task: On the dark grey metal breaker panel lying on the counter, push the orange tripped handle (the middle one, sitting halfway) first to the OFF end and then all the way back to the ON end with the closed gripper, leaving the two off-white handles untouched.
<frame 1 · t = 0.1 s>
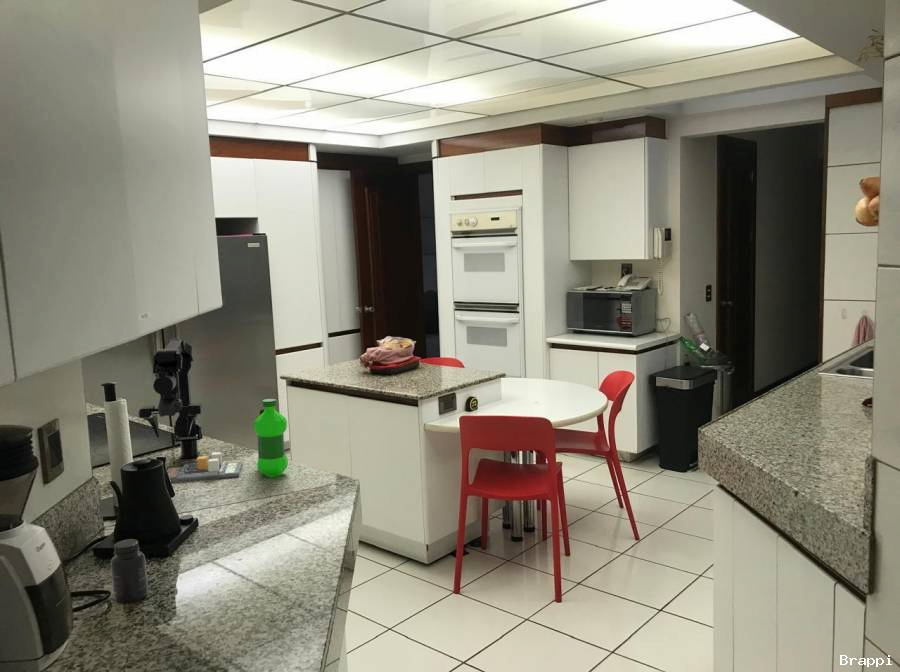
hand: (173, 436, 233), 15 cm above the countertop, fingers open, 9 cm apart
beverage bottle: (268, 467, 247), on the countertop
breaker tripped: (202, 463, 240), point 4 cm above the countertop, slide at 0.0 cm
supplement bottle: (131, 597, 155), on the countertop
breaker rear: (216, 459, 245), point 4 cm above the countertop, slide at 4.0 cm
plastic bottle: (273, 475, 238), on the countertop
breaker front: (213, 466, 237), point 4 cm above the countertop, slide at 4.0 cm
panel: (203, 474, 241), on the countertop
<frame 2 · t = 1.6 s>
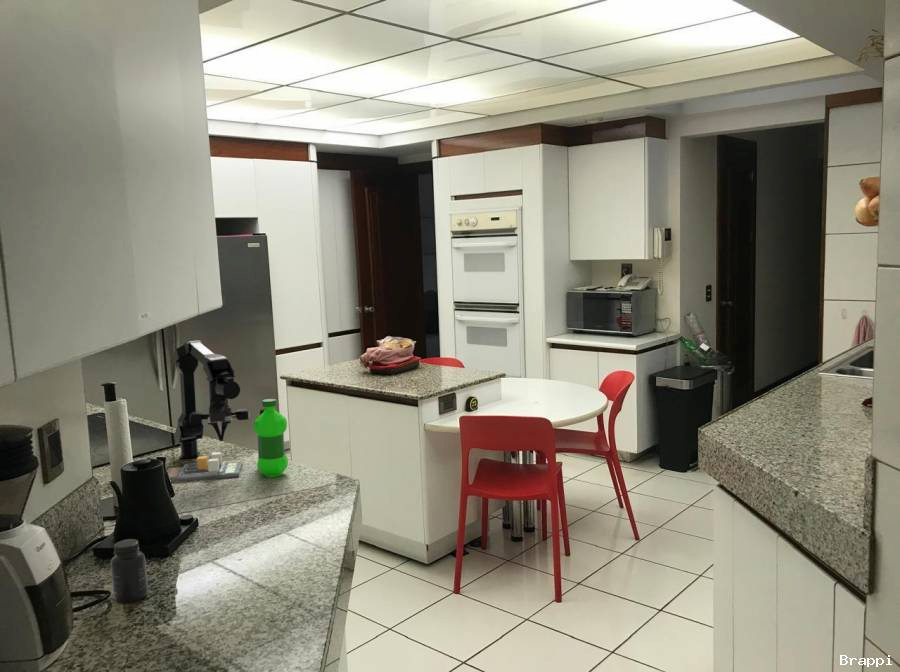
hand: (221, 441, 240), 11 cm above the countertop, fingers closed
nothing on the countertop moved.
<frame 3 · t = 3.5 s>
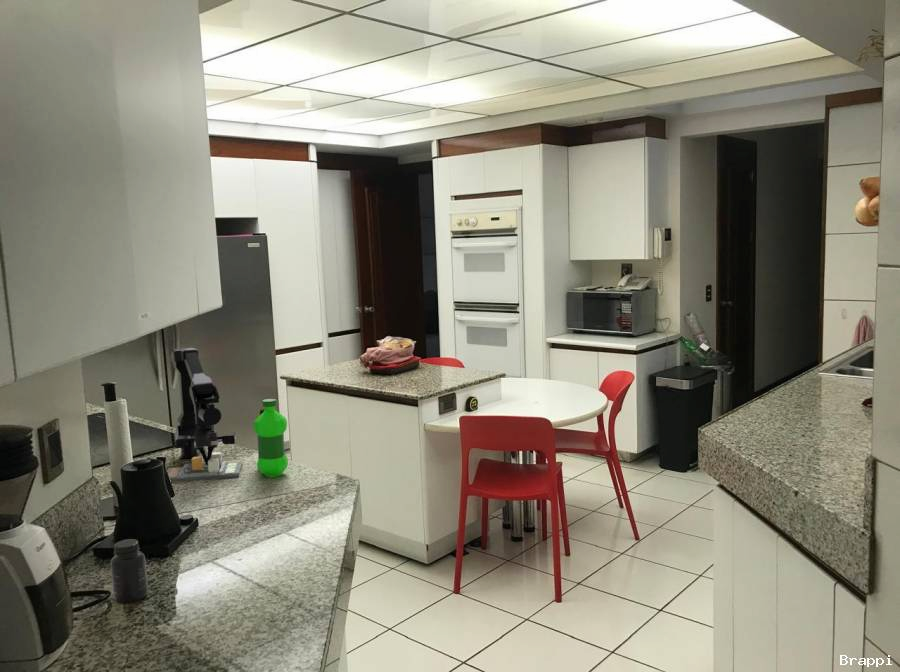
hand: (207, 465, 241), 3 cm above the countertop, fingers closed
breaker tripped: (197, 464, 240), point 4 cm above the countertop, slide at -1.7 cm, touching gripper
everything else where it was.
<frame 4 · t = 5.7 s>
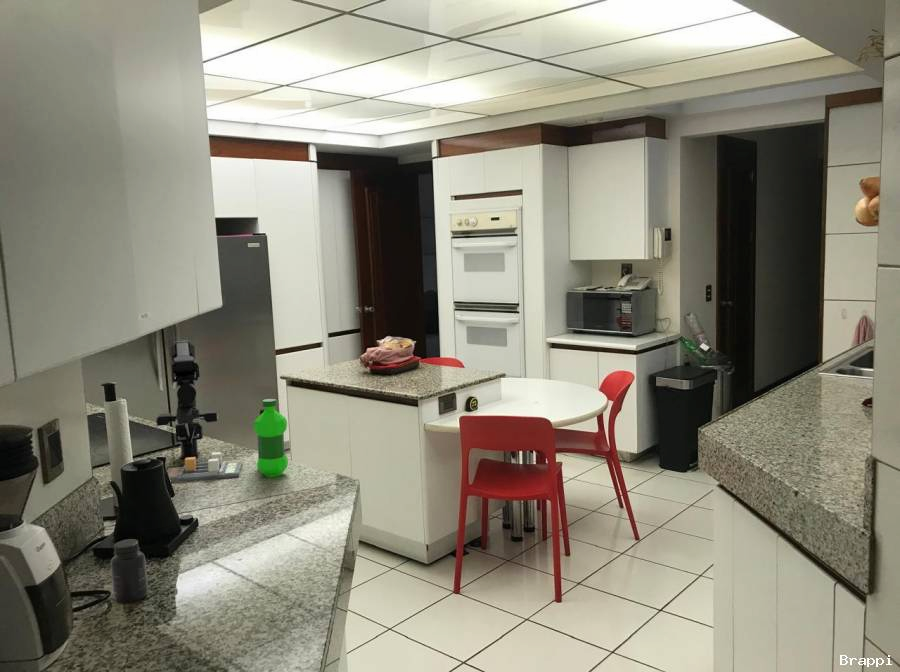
hand: (189, 443, 239), 11 cm above the countertop, fingers closed
breaker tripped: (190, 464, 239), point 4 cm above the countertop, slide at -3.9 cm
everything else where it was.
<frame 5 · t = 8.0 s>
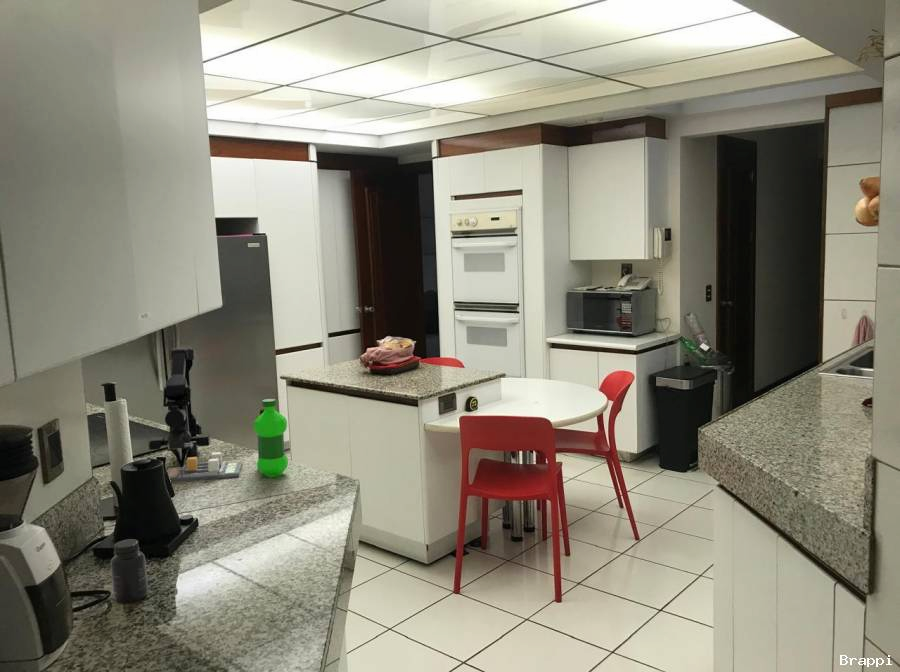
hand: (182, 467, 239), 3 cm above the countertop, fingers closed
breaker tripped: (192, 464, 239), point 4 cm above the countertop, slide at -3.3 cm, touching gripper
everything else where it was.
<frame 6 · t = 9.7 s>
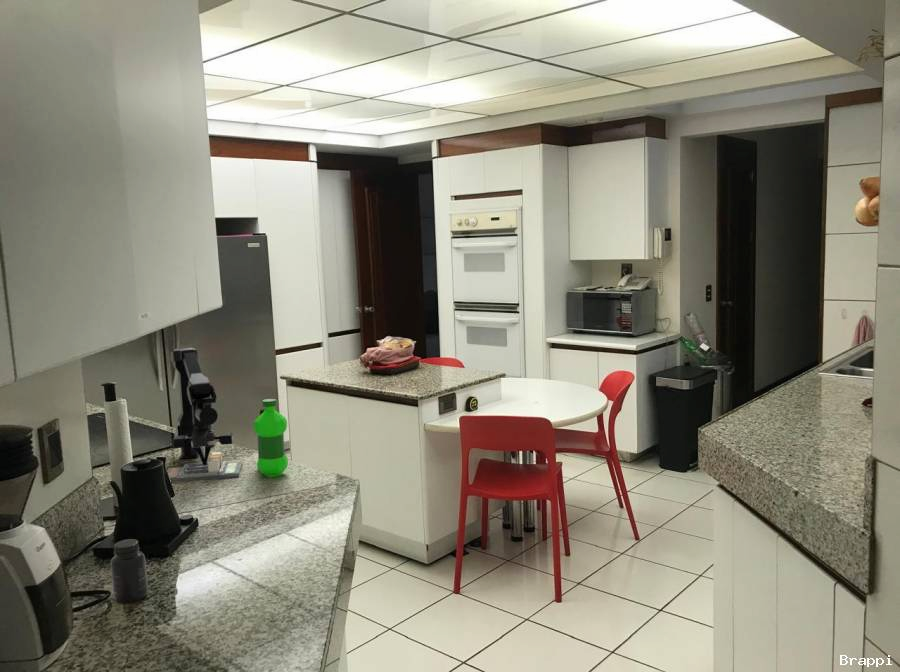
hand: (205, 465, 240), 3 cm above the countertop, fingers closed
breaker tripped: (214, 462, 241), point 4 cm above the countertop, slide at 3.9 cm, touching gripper
everything else where it was.
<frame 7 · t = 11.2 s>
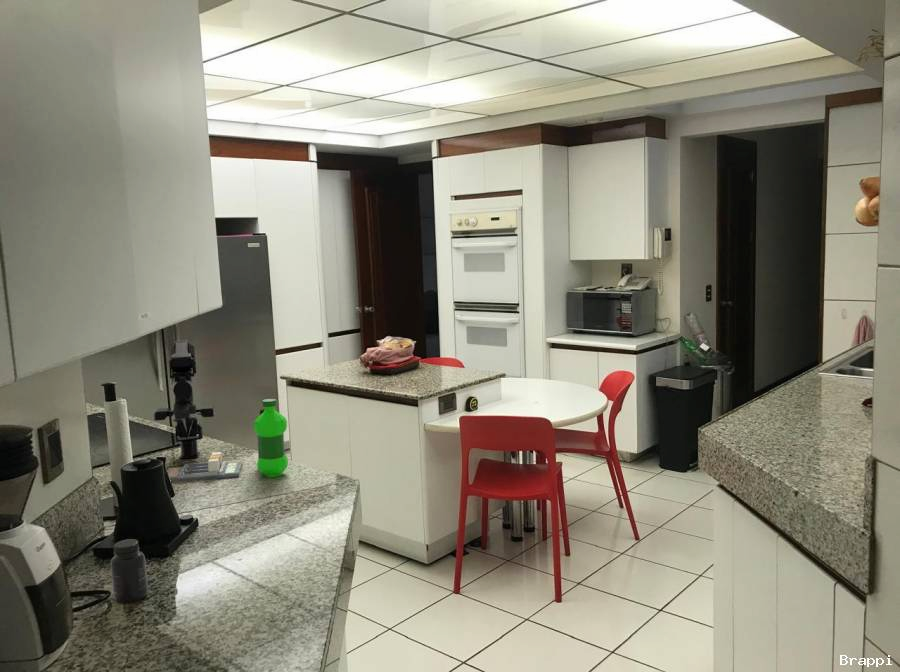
hand: (187, 437, 243), 12 cm above the countertop, fingers closed
breaker tripped: (215, 462, 241), point 4 cm above the countertop, slide at 3.9 cm
everything else where it was.
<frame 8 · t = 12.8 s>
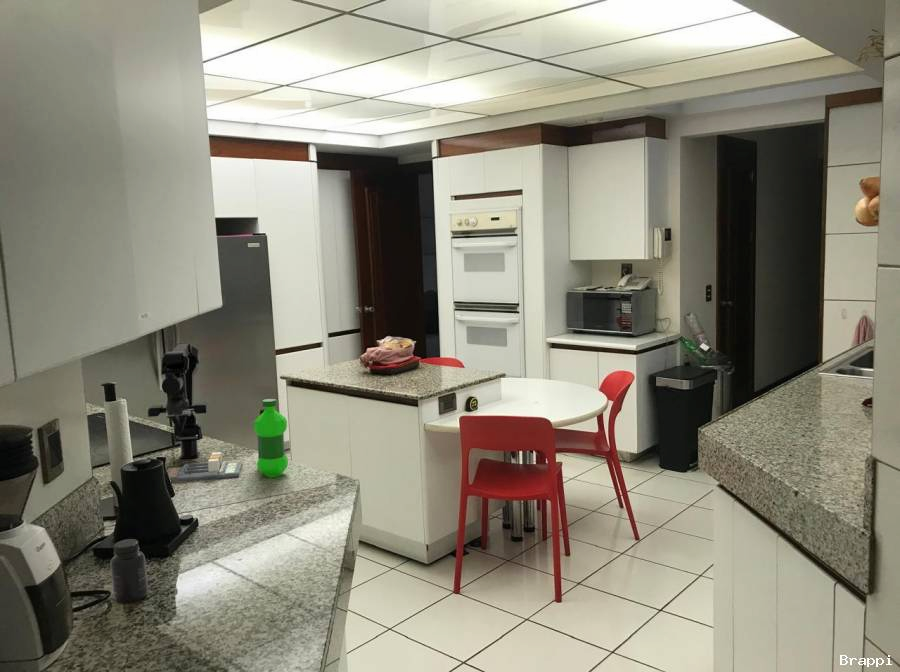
hand: (180, 434, 246), 12 cm above the countertop, fingers closed
nothing on the countertop moved.
at the end: breaker tripped slide at 3.9 cm; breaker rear slide at 4.0 cm; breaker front slide at 4.0 cm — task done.
